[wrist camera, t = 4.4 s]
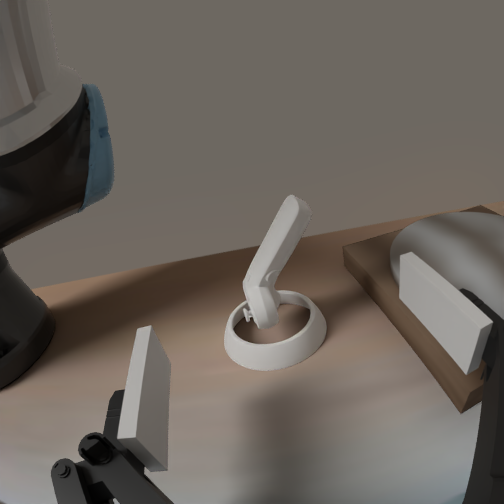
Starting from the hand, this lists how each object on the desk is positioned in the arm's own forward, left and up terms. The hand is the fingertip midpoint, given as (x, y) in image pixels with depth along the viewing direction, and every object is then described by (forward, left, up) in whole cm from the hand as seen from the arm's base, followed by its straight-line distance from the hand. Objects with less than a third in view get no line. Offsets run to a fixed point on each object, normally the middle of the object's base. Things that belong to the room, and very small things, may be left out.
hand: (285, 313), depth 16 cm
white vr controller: (0, +6, -6) cm, 8 cm away
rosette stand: (+17, +3, -6) cm, 18 cm away
